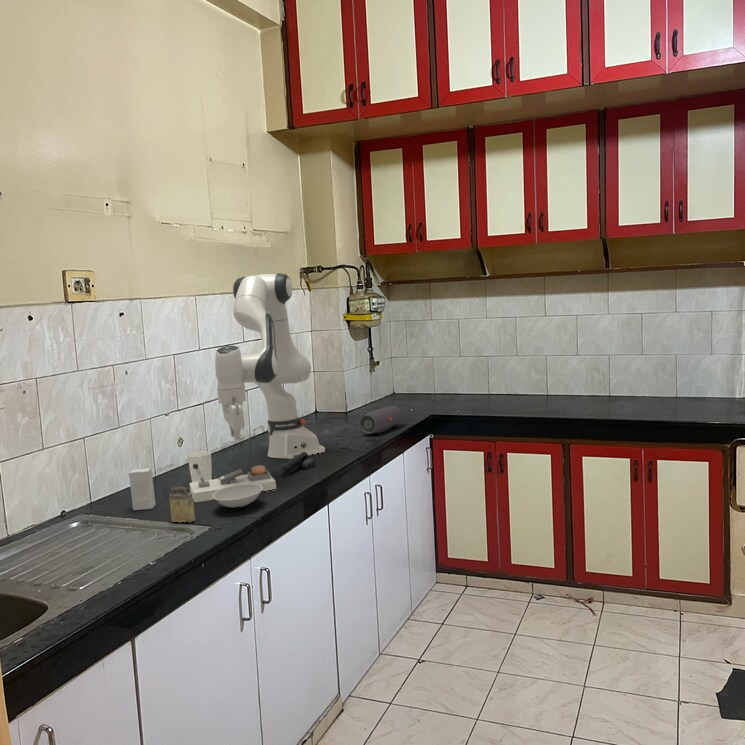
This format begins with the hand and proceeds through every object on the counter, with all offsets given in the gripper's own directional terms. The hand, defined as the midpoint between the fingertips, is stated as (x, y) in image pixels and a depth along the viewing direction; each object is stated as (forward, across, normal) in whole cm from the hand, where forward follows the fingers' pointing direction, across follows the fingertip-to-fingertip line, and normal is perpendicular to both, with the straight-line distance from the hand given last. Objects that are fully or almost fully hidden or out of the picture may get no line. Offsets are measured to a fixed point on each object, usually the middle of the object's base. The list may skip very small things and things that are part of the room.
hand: (235, 438), depth 242 cm
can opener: (+18, +14, -22) cm, 32 cm away
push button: (+13, 0, -7) cm, 15 cm away
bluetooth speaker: (+17, +60, -71) cm, 95 cm away
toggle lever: (+13, 0, +12) cm, 17 cm away
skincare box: (+17, -4, +30) cm, 35 cm away
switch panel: (+17, 0, +2) cm, 17 cm away
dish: (+17, -20, +4) cm, 27 cm away
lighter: (+17, -25, +20) cm, 37 cm away
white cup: (+17, +18, +10) cm, 27 cm away
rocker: (+12, 0, +2) cm, 13 cm away
